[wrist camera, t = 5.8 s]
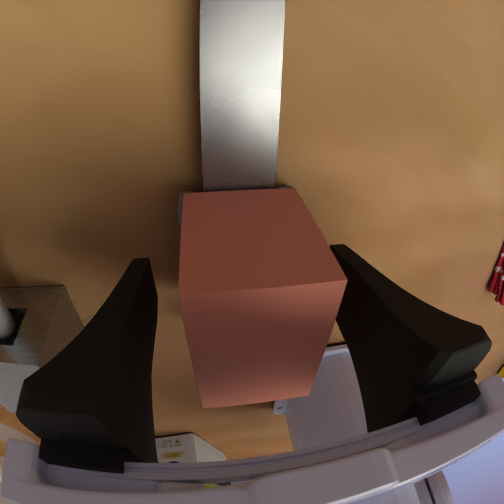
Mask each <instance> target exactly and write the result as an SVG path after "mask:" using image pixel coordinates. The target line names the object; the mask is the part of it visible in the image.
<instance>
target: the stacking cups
mask: <svg viewBox="0 0 504 504" xmlns="http://www.w3.org/2000/svg"><path fill="white" fill-rule="evenodd" d="M499 375H500V377H501V378H504V366H503V367H502V369H501V370H500V372H499Z"/></svg>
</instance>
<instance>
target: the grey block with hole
mask: <svg viewBox="0 0 504 504" xmlns="http://www.w3.org/2000/svg"><path fill="white" fill-rule="evenodd" d="M0 297H1V299H2V300H3V302H4V304H5V305H6V307H7V309H8V310H9V312H10V314H11V315H12V317H13V319H14V320H15V322H16V327H15V330H14V331H13V333H12V334H11V335H10V336H9V337H7V338H4V339H0V404H1V405H2V406H3V407H4V408H5V409H6V410H8V411H9V412H10V413H15V414H16V409H17V405H18V400H19V396H20V391H21V388H22V384H23V381H24V379H26V378H27V377H29V376H30V375H32V374H33V373H34V372H36V371H37V370H38V369H40V368H41V367H43V366H44V365H45V364H46V363H48V362H49V361H50V360H51V359H53V358H54V357H55V356H56V355H57V354H58V353H60V352H61V351H62V350H63V349H64V348H65V347H66V346H67V345H68V344H69V343H70V342H71V341H72V340H73V339H74V338H75V337H76V336H77V335H78V334H79V333H80V332H81V331H82V330H83V329H84V327H83V325H82V323H81V321H80V319H79V317H78V315H77V313H76V311H75V308H74V306H73V304H72V302H71V300H70V298H69V296H68V293H67V291H66V289H65V287H64V286H43V287H18V288H0Z"/></svg>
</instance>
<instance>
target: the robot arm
mask: <svg viewBox="0 0 504 504" xmlns="http://www.w3.org/2000/svg"><path fill="white" fill-rule="evenodd" d="M330 249H331V251H332V252H333V254H334V256H335V258H336V260H337V261H338V263H339V265H340V267H341V269H342V270H343V272H344V274H345V276H346V278H347V284H346V287H345V290H344V294H343V297H342V300H341V304H340V307H339V310H338V313H337V316H336V319H335V320H336V322H337V324H338V326H339V329H340V331H341V333H342V335H343V338H344V340H345V342H346V344H344V345H338V346H333V347H327V348H326V349H325V352H324V355H323V358H322V361H321V363H320V366H319V369H318V372H317V374H316V377H315V380H314V382H313V385H312V388H311V390H310V393H309V395H307V396H301V397H295V398H289V399H283V400H276V401H274V406H273V413H274V414H284V413H285V416H286V421H287V425H288V429H289V433H290V437H291V441H292V446H293V450H294V451H291V452H286V453H280V454H274V455H267V456H260V457H253V458H244V459H235V460H224V461H211V462H193V463H158V458H157V450H156V443H155V434H154V423H153V408H152V382H151V374H152V360H153V351H154V342H155V334H156V326H157V309H158V296H157V291H156V287H155V283H154V278H153V274H152V270H151V265H150V260H149V258H139V259H133V261H132V262H131V263H130V265H129V267H128V268H127V270H126V271H125V273H124V274H123V276H122V278H121V279H120V281H119V282H118V284H117V285H116V287H115V288H114V290H113V291H112V293H111V294H110V295H109V297H108V298H107V300H106V301H105V302H104V304H103V305H102V306H101V308H100V309H99V310H98V312H97V313H96V314H95V316H94V317H93V318H92V319H91V321H90V322H89V323H88V324H87V325H86V326H85V328H84V329H83V330H82V331H81V332H80V333H79V334H78V335H77V336H76V337H75V338H74V339H73V340H72V341H71V342H70V343H69V344H68V345H67V346H66V347H65V348H64V349H63V350H62V351H61V352H60V353H58V354H57V355H56V356H55V357H54V358H53V359H51V360H50V361H49V362H48V363H46V364H45V365H44V366H43V367H41V368H40V369H38V370H37V371H36V372H34V373H33V374H32V375H30V376H29V377H27V378H26V379H24V381H23V384H22V388H21V391H20V396H19V400H18V405H17V409H16V416H17V418H18V419H19V421H20V422H21V423H22V424H23V425H24V426H25V427H27V428H28V429H29V430H30V431H32V432H33V433H34V434H36V435H37V436H38V437H39V438H41V444H40V446H38V445H36V444H34V443H30V442H26V441H21V440H17V439H13V438H9V439H8V442H7V448H6V455H5V463H4V472H3V482H2V494H1V496H2V498H3V499H4V500H7V501H9V502H11V503H14V504H454V502H453V498H452V495H451V492H450V489H449V486H448V484H447V481H446V479H445V476H444V474H443V472H442V470H443V469H445V468H447V467H448V466H450V465H452V464H454V463H456V462H457V461H459V460H461V459H463V458H464V457H466V456H468V455H469V454H471V453H473V452H474V451H476V450H477V449H479V448H481V447H482V446H484V445H485V444H487V443H488V442H490V441H491V440H493V439H494V438H496V437H497V436H498V435H499V434H501V433H502V432H504V382H503V380H502V378H501V377H500V375H499V374H498V373H497V374H495V375H493V376H491V377H489V378H487V379H485V380H483V381H482V382H480V383H479V384H478V385H477V384H476V383H475V381H474V380H475V379H476V378H477V374H476V373H475V371H474V369H475V368H476V367H477V366H478V365H479V364H480V362H481V361H482V360H483V359H484V358H485V356H486V355H487V354H488V352H489V350H490V348H491V345H492V341H491V340H490V338H489V337H488V335H487V334H486V332H485V330H484V329H483V327H482V326H479V325H476V324H473V323H470V322H468V321H465V320H462V319H459V318H457V317H454V316H452V315H449V314H447V313H445V312H443V311H441V310H439V309H437V308H435V307H433V306H431V305H429V304H427V303H425V302H423V301H422V300H420V299H418V298H416V297H415V296H413V295H412V294H410V293H408V292H407V291H405V290H404V289H402V288H401V287H399V286H398V285H396V284H395V283H394V282H392V281H391V280H390V279H388V278H387V277H385V276H384V275H383V274H382V273H380V272H379V271H378V270H376V269H375V268H374V267H373V266H371V265H370V264H369V263H368V262H366V261H365V260H364V259H363V258H361V257H360V256H359V255H358V254H356V253H355V252H354V251H353V250H351V249H350V248H349V247H347V246H346V245H344V244H338V245H330ZM254 479H256V480H255V481H250V482H244V483H239V484H232V485H225V486H218V487H209V488H206V486H204V485H203V484H214V483H227V482H238V481H247V480H254Z"/></svg>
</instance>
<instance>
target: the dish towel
mask: <svg viewBox="0 0 504 504" xmlns="http://www.w3.org/2000/svg"><path fill="white" fill-rule="evenodd" d="M488 291H489V292H493V293H494V294H495V295H497V296H496V298H495V301H496V302H499V303H500V304H501V305H504V245H503V249H502V251H501V254H500V258H499V260H498V263H497V265H496V267H495V270H494V274H493V276H492V278H491V280H490V282H489V284H488Z"/></svg>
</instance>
